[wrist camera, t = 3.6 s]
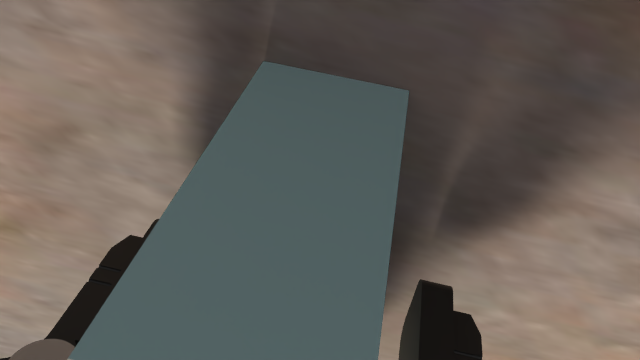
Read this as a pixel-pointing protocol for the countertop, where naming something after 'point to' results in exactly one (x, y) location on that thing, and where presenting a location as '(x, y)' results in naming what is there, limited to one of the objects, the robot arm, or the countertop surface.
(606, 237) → the countertop surface
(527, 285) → the countertop surface
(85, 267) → the countertop surface
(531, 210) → the countertop surface
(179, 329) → the slab
